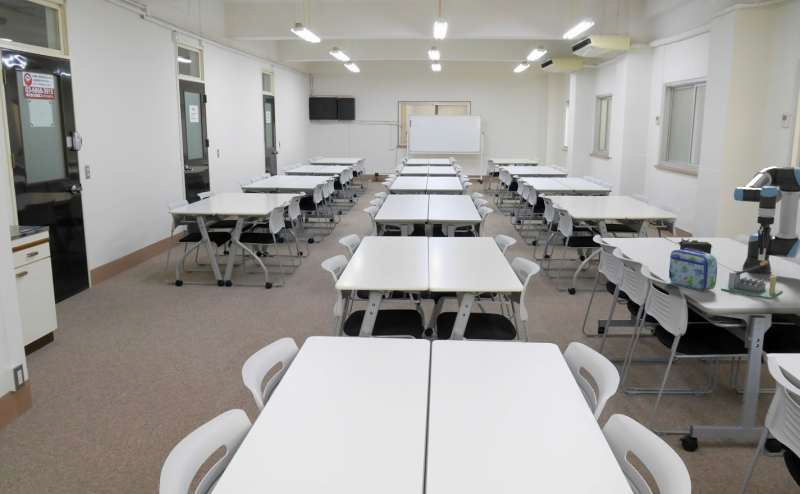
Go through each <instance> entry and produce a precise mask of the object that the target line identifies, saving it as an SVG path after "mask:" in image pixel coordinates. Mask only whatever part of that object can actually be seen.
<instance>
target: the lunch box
mask: <svg viewBox="0 0 800 494" xmlns="http://www.w3.org/2000/svg"><path fill="white" fill-rule="evenodd" d="M669 258H670V260H669V269H668V278H669V280H670V282H671V283H670V284H672V283H673V284H672V285H676V284H677V285H678V286H681V287H685V288H688V289H692V290H695V291H707V290H713V289H714V288H715V287H716V284H717V276H718V261H717V258H716V257H715V256H714V255H713V254H708V253H705V252H700V251H695V250H690V249H688V248H684V249H682V250H680V249H675V250H672V251H671V253H670V257H669ZM677 285H676V286H677Z"/></svg>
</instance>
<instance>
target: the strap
mask: <svg viewBox="0 0 800 494" xmlns="http://www.w3.org/2000/svg"><path fill="white" fill-rule="evenodd" d="M765 265H768V261H767V260H766V261H763V262H761V263H760V265H758V266H755V267H753V268H750V269H747V270H742V271H741V270H740V271H741V272H738V273H737V274H736V275H739V274H741V275H742V274H744V273H747V272H748V271H751V270H753V269H756V268H759V267H762V266H765Z"/></svg>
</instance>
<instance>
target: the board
mask: <svg viewBox="0 0 800 494" xmlns="http://www.w3.org/2000/svg"><path fill="white" fill-rule="evenodd" d="M738 272H741V270H738V269H734V270H733V271H729V273H728V275H729V276H728V283H727V284H728V285H726V286H724V287H721V288H720V291H723V292H728V293H732V294H733V293H734V294H740V295H745V296H751V297H756V298H762V299H766V300H772V299H774V298H775V297H777V296H779V295H780V294H782V293H783V290H782V289H776V283H777V278H778V277H777V275H773V274H772V275H771V276H769V279H770V280H769V281H770V282H769V287H765V290H764V291H762V292H760V293H755V292H749V291H744V290H738V289H736V286H737V283H738V282H739V279H741V275H742V274H739V275H736V274H737V273H738Z"/></svg>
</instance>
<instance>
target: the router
mask: <svg viewBox="0 0 800 494" xmlns="http://www.w3.org/2000/svg"><path fill="white" fill-rule="evenodd" d="M680 242H681V244H679V250H682V249H684V248H688V249H690V250H695V251H700V252H705V253H708V254H711V253H712V248H713V245H712V244H711V243H710V242H709V241H699V240H697V239H694V240H693V239H692V240H691V241H690V240H689V241H681V240H680ZM711 255H712V254H711Z"/></svg>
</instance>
